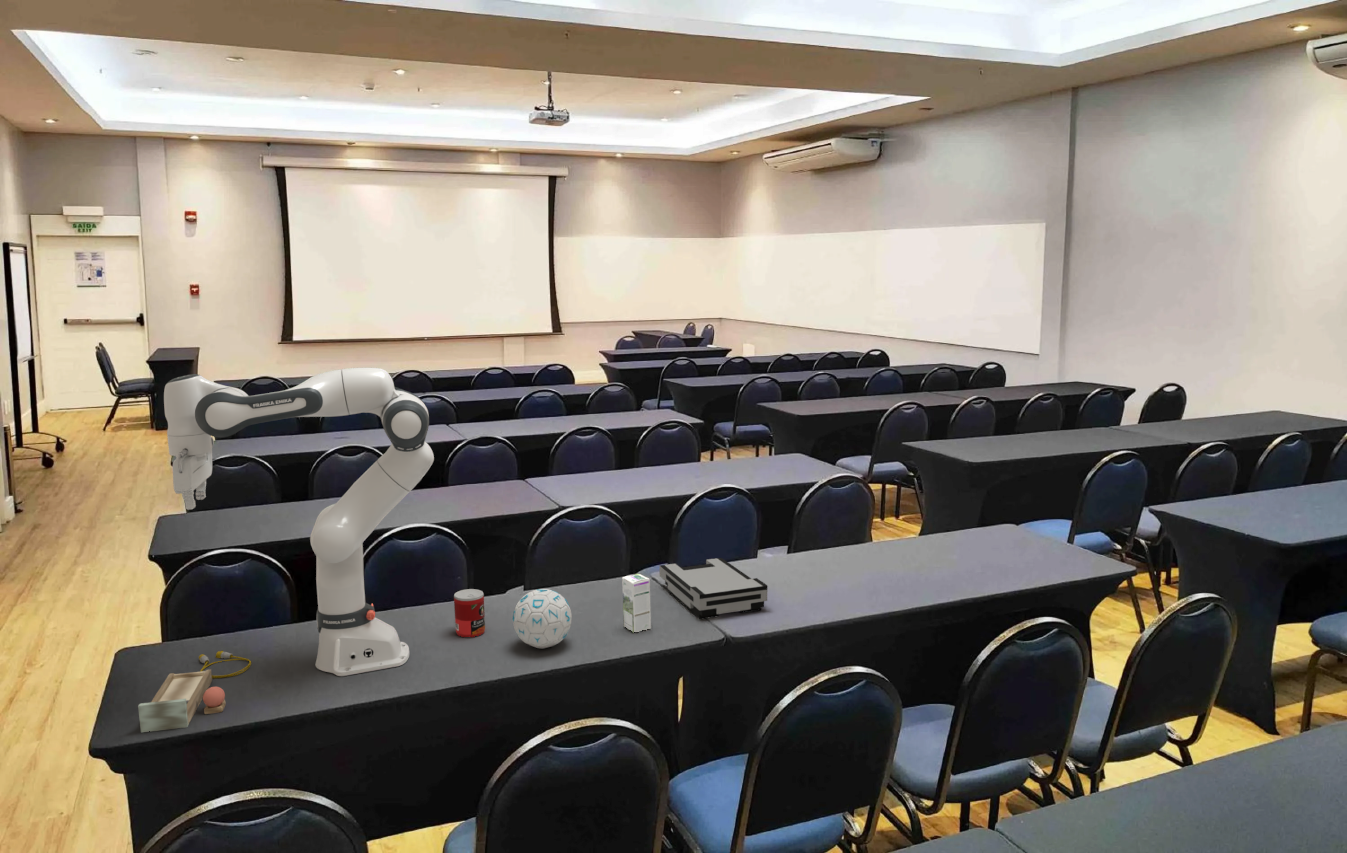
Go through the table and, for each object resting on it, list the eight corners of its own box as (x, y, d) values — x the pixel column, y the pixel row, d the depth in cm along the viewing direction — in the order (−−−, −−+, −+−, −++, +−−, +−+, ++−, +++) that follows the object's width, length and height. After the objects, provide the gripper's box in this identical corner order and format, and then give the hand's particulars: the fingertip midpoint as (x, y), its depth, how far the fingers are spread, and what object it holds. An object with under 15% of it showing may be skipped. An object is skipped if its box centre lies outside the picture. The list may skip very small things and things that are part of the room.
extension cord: (252, 651, 242) (251, 644, 241) (251, 675, 227) (250, 668, 227) (199, 659, 237) (198, 652, 237) (195, 684, 223) (194, 676, 222)
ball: (227, 700, 211) (225, 682, 211) (223, 709, 207) (221, 690, 207) (206, 702, 210) (204, 684, 210) (201, 711, 206) (199, 692, 205)
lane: (212, 681, 224) (210, 657, 223) (187, 727, 201) (184, 700, 200) (170, 685, 221) (168, 661, 220) (140, 732, 199) (138, 706, 198)
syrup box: (651, 629, 254) (651, 577, 251) (633, 634, 250) (632, 582, 248) (640, 622, 258) (639, 572, 256) (622, 627, 255) (621, 576, 253)
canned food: (476, 639, 247) (474, 599, 246) (449, 636, 250) (448, 596, 248) (490, 629, 255) (489, 590, 253) (465, 625, 257) (463, 587, 255)
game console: (721, 579, 295) (721, 554, 294) (767, 613, 266) (767, 585, 264) (659, 587, 288) (659, 561, 286) (699, 623, 258) (699, 594, 257)
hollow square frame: (225, 704, 211) (225, 699, 211) (222, 712, 208) (221, 707, 207) (208, 706, 210) (207, 701, 210) (204, 714, 207) (204, 709, 207)
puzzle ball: (576, 653, 238) (574, 597, 235) (516, 660, 234) (514, 603, 232) (567, 631, 252) (566, 578, 250) (511, 637, 249) (509, 583, 246)
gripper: (193, 452, 206) (199, 513, 208) (215, 437, 226) (220, 492, 228) (162, 454, 204) (168, 515, 207) (186, 438, 224) (192, 494, 226)
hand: (196, 503), depth 217 cm, fingers open, 8 cm apart
